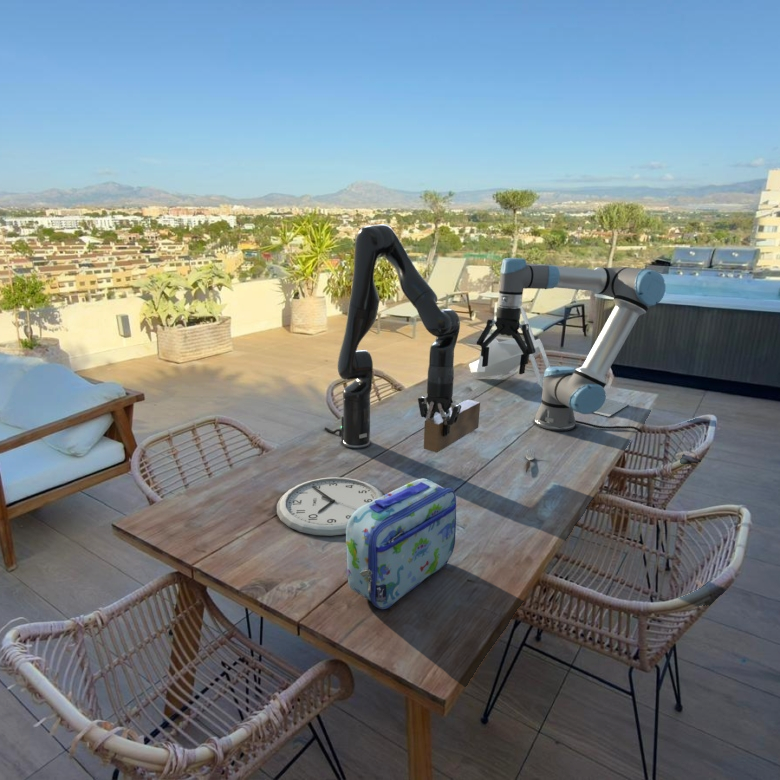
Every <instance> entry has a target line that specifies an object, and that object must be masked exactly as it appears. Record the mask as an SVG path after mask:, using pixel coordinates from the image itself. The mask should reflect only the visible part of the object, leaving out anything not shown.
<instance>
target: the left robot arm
mask: <svg viewBox="0 0 780 780" xmlns="http://www.w3.org/2000/svg"><path fill="white" fill-rule="evenodd" d="M380 258H385V259H386V260H387V261H388V262H389V263H390V264H391V265H392V266H393V268H394V270H395V273H396V275H397V279H398V283H399V286H400V289H401V291H402V293H403V294H404V296H405V297H406V299H407V300H408V301H409V302H410V304H411V305H412V306H413V308H414V309H416V312H417V313H418V316H419V318H420V320H421V323H422V324H423V326H424V328H425V329H426V331H427V332H428V333H429V334H430V335H432V336H433V337H435V340H434V342H433V343H432V344H431V345H430V347H429V355H428V356H429V357H428V368H427V379H426V381H427V382H426V394H427V395H426V396H425V395H423V396H421V397H418V398H417V402H418V408H419V413H420V417H421V418H424V419H425V421H426V420H428V419H430V418H432V417H434V416H435V414H436V413H438V414H439V413H440V415H441V418H442V419H443V423H444V425H443V436H444V437H446V436H447V435H448V434H449V433H450V425H452V424H454V423H456V422H457V419H458V416H459V413H460V410H461V405H457V404H456V403H455V402H454V401H453V394H454V393H453V392H454V380H455V369H454V363H455V348H456V345H457V342H458V337H459V334H460V327H461V321H460V316H459V315H458V313H457V312H456V311H455V310H453V309H450V308H446V309H442V310H441V309H440V307H439V306H438V304H437V302H438V295H437V293H436V292H435V291H434V290H433V289H432V287H431V286H430V285H429V284H428V282H427V281H426V280H425V278H424V277H423V276H422V275H421V274H420V272H419V270H418V269H417V268H416V266H415V265H414V263H413V261H412V259H411V258H410V256H409V255H408V252H407V251H406V249H405V248H404V246H403V244H402V242H401V241H400V239H399V237H398V236H397V234H396V232H395V231H394V230H393V229H392V227H390V226H389V225H387V224H375V225H374V224H373V225H368V226H363V227H362V228H360V230H359V231H358V232H357V235H356V237H355V244H354V259H353V261H354V263H353V264H354V265H353V274H352V283H351V289H350V296H349V302H348V307H347V315H346V316H347V317H346V322H345V330H344V334H343V339H342V342H341V347H340V349H339V354H338V358H337V371H338V375H339V378H341V379H342V380H345V381H347V380H349V381H350V380H354V381H352V382H351V383H350V384H349V385H347V386H345V387H344V389H343V391H342V406H343V407H342V411H343V416H342V417H341V419H340V420H341V421H340V422H341V426H340V428H336V429H334V430H332V429H330V428H328V427H326V426H325V427H324V430H325V431H327V432H328V433H330V434H336V433H338V436H340V437H341V443H343V446H344V447H346V448H348V449H357V450H358V449H364V448H367V447H369V446H370V445H371V392H372V388H373V387H372V386H373V373H374V363H373V357H372V355H371V353H370V352H369V351H368V350H365V349H361V350H358V348H359V345H360V343H361V342H362V340H363V339H364V338H365V336H366V335H367V334H368V333H369V332H370V330H371V328H372V327H373V326H374V324H375V322H376V321H377V320H376V319H377V318H378V317H377V316H378V312H379V306H380V296H379V295H380V294H379V292H378V289H377V286H376V283H375V278H374V276H375V268H376V263H377V261H378V260H377V259H380ZM449 408H452V410H451V411H452V414H451V417H450V410H449ZM445 412H446V413H445Z"/></svg>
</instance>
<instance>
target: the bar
mask: <svg viewBox="0 0 780 780" xmlns="http://www.w3.org/2000/svg"><path fill="white" fill-rule="evenodd" d="M456 405H461V410H460V413H459V416H458V419H457V422H456V423H454V424H452V425H450V433H449V434H448V435H447V436H446V437H444V436H443V425H444V423H443V419H442V418H441V415H440V413H438V414H436V415H434V417H432V418H430V419H428V420H426V419H425V420H424V429H423V430H424V432H423V449H424V450H426V451H429V452H432V453H433V452H434V453H437V454H438V453H439V452H441V451H443V450H444V449H445V448H448V447H449V446H450V445H452V444H454V443H457V441H459V440H460V439H462V438H464V437H465V436H467V435H469V434H470V433H472V432H474V431H475V430H477V429H479V425H480V423H479V422H480V412H481V410H480V409H481V401H477V400H472V399H465V400H463V401H461V402H460V403H458V404H456ZM449 410H450V417H451V414H452V411H451V410H452V408H451V407H450V408H449ZM445 413H446V412H445Z"/></svg>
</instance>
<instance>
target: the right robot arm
mask: <svg viewBox="0 0 780 780" xmlns="http://www.w3.org/2000/svg"><path fill="white" fill-rule="evenodd" d="M665 282H666V281H665V278H664V277H663V275H662V274H661V273H660V272H659V271H657V270H653V269H650V268H640V267H639V268H638V267H637V268H636V267H629V266H617V267H615V266H614V267H613V266H612V267H601V266H598V267H595V268H594V269H593V268H583V267H572V266H562V265H553V264H551V265H550V264H541V263H530V262H527V260H526V259H525V258H521V257H519V258H518V257H506V258H503V259H502V262H501V267H500V279H499V290H498V299H497V300H498V301H497V305H498V307H497V310H496V320H495V319H494V318H490V319H487V320H486V325H485V327H484V329H483V331H482V333H481V334H480V335H479V337H478V338H477V339H478V340H477V341H476V345H477V346H480V348H481V349H480V353H481V356H482V357H483V361H482V367H485V366H488V356H489V347H487V346H488V345H489V344H490V343H491V342H492V341H493V340H494V339H495V338H496V339H497V337H498V336H499V335H502V336H508V337H512V339H515V341H516V342H517V344H518V346H519V347H520V349H521V350H522V352H523V354H522V355H521V360H520V365H519V370H518V375H523V374H525V372H526V365H528V364H529V361H530V357H529V355H530V354H533V353H535V352H536V351H535V348H534V345H533V342H532V339H531V336H530V333H529V325H528V324H525V323H524V324H523V323H521V322H520V320H521V314H522V313H521V309H520V308H522V305H523V294H524V290H525V289H532V290H533V289H534V290H535V289H536V290H537V289H538V290H549V289H554V288H556V289H557V288H558V289H568V290H580V291H590V292H591V293H592V294H595V295H602V296H606V297H610V298H612V299H613V303H614V307H613V308H612V310H611V313H609V316H608V317H607V320H606V321H605V323H604V325H603V327H602V329H601V331H600V332H599V334H598V336H597V338H596V340H595V342H594V344H593V345H592V348H591V349H590V351H589V353H588V354H587V356H586V359H585V360H584V362H583V363H582V366H580V367H577V368H576V367H573V366H558V365H557V366H550V367H549V368H546V369H545V370H544V373H543V389H542V394H541V402H540V405H539V407H538V410H537V411H536V413H535V416H534V424H535V425H536V426H537V427H539V428H542V429H544V430H549V431H556V432H567V431H572V430H574V429H575V428H576V424H580V425H584V426H589V427H591V428H592V427H593V428H597V429H608V430H609V429H611V430H612V429H632V430H636V431H637V432H639V433H640V434H641V433H642V434H643V431H642V429H640V428H639V427H637V426H633V425H622V426H621V425H613V426H609V425H608V426H607V425H597V424H593V423H589V422H584V421H580V420H577V419H576V418H575V417H576V416H575V413H574V412H577V413H579V414H582V415H590V414H594V413H593V412H595V411H597V410H598V409H600V408H601V407H602V405H603V404H604V402H605V399H606V398H607V395H606V390H605V387H606V385H607V380H606V376H607V374H608V372H609V370H610V369H611V367H612V365H613V363H614V362H615V360H616V358H617V356H618V355H619V353H620V351H621V349H622V347H623V346H624V344H625V342H626V340H627V338H628V336H629V335H630V333H631V331H632V330H633V327H634V325H635V324H636V323H637V320H638V318H639V317H640V316H642V315H645V314H646V313H647V312H648V310H649V308H650V307H653V306H655V305H658V304H659V303H660V302H661V301H662V300H663V298H664V296H665V293H666V287H667V286H666V283H665ZM494 326H495V330H493V332H492V333H490V332H491V331H492V328H493V327H494ZM519 329H520V331H522V333H521V334H522V336H521V334H520V332H519ZM488 334H491V336H490V337H489V338H488V339H487V340H486V341H485V342H484V340H485V338H486V337H487V335H488ZM522 337H523V338H522ZM523 339H524V340H523ZM526 345H527V346H526ZM606 400H607V399H606Z"/></svg>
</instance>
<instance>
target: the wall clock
mask: <svg viewBox="0 0 780 780" xmlns="http://www.w3.org/2000/svg"><path fill="white" fill-rule="evenodd" d="M384 495H385V494H384V493H383V492H382V491H381V490H380V489H379V488H377V487H376V486H374V485H372V484H371V483H369V482H365V481H362V480H359V479H355V478H349V477H338V476H337V477H335V476H333V477H332V476H331V477H322V478H317V479H312V480H307V481H305V482H302V483H299V484H297V485H295V486H293V487H292V488H290V489H288V490H287V491H286V492H285V493H284V494H283V495H281V496H280V498H279V499H278V502H277V503H276V515H277V517H278V518H279V520H280V521H281V522H282V523H283V524H285V525H286V526H287V527H288V528H290V529H293V530H295V531H297V532H299V533H303V534H308V535H312V536H327V537H328V536H329V537H331V536H332V537H333V536H342V535H346V528H347V524H348V521H349V519H350V517H351V515H352V514H353V513H354V512H355V511H356V510H357V509H358V508H360V507H362V506H364V505H366V504H368V503H370V502H372V501H374V500H376V499H378V498H380V497H382V496H384Z"/></svg>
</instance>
